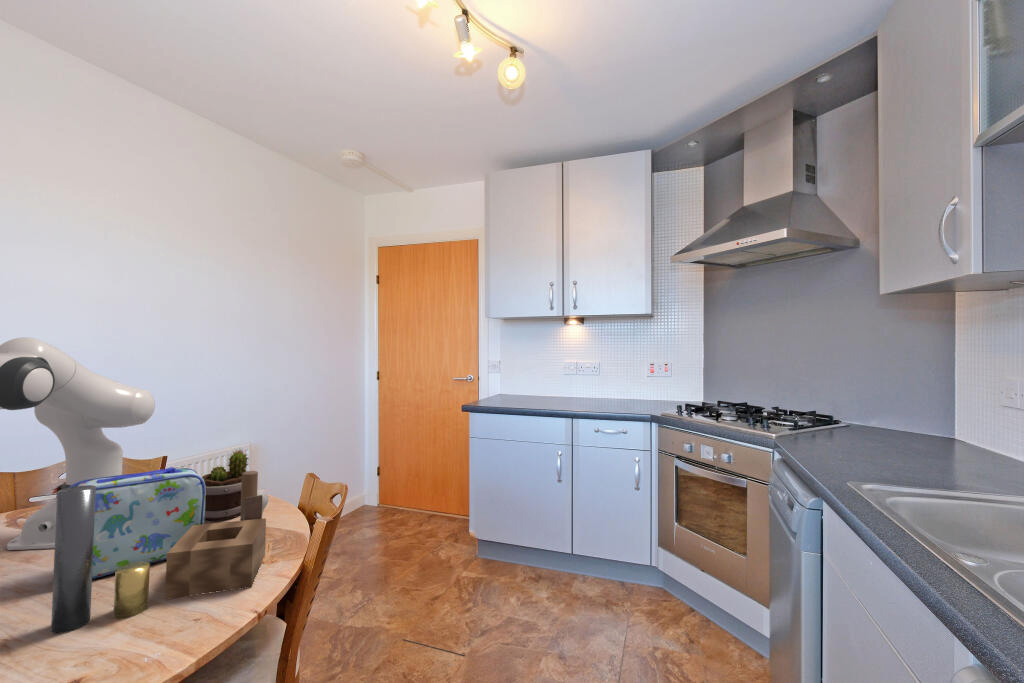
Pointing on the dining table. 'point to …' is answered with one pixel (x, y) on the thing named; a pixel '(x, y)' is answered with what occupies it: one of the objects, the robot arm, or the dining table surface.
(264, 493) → the lightbulb
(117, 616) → the brass pin
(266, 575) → the dining table surface
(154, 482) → the lunch box
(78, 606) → the steel pin
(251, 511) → the wooden block
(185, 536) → the block
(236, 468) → the flowerpot
